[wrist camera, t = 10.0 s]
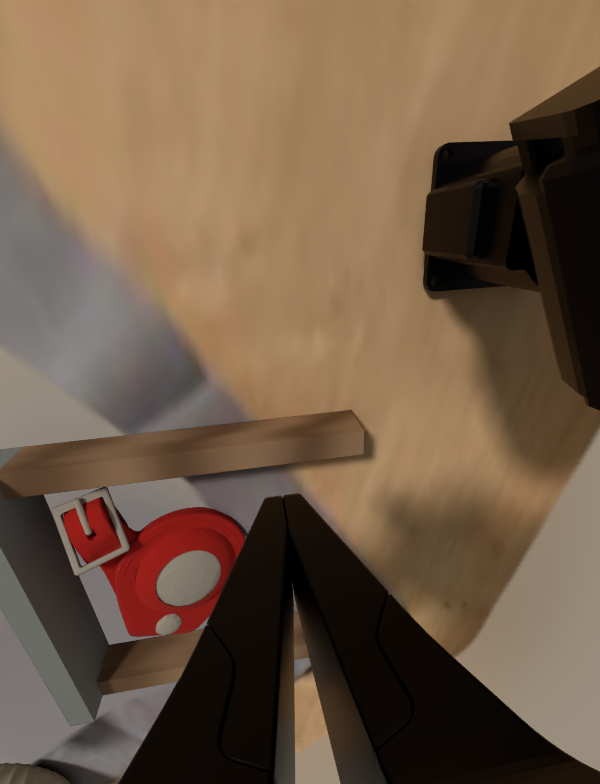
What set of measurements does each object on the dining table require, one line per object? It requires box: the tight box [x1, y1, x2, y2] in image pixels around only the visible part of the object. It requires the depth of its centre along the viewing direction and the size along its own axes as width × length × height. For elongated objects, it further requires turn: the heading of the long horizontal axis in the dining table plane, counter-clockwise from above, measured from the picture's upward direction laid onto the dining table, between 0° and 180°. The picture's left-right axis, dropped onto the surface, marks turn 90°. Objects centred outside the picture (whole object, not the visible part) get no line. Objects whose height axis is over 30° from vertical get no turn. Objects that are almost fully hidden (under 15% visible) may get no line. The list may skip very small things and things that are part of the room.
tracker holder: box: [52, 487, 245, 637], centre depth 23 cm, size 12×4×10 cm
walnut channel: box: [0, 410, 364, 695], centre depth 23 cm, size 18×19×2 cm
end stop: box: [0, 447, 109, 726], centre depth 22 cm, size 2×19×4 cm, turn 3°
